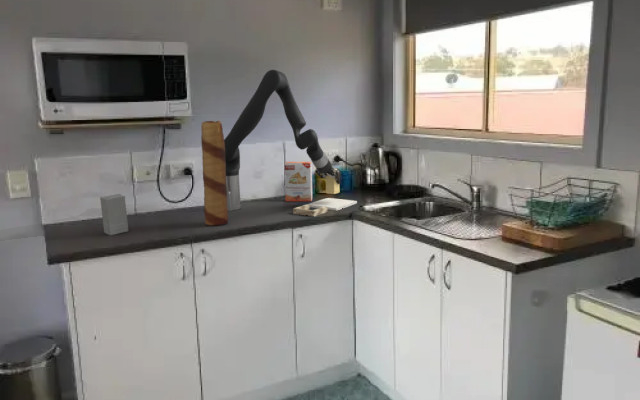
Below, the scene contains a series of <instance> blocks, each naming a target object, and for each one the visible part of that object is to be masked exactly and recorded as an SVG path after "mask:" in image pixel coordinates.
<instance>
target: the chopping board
mask: <svg viewBox="0 0 640 400" xmlns="http://www.w3.org/2000/svg"><path fill="white" fill-rule="evenodd" d="M308 204H309V207H310V209H311V208H312V209H318V208H321V207H324V206H325V207H327V211H339V210H343V209H345V208H349V207H350V206H353V205H357V204H358V201H357V200H353V199H344V198H343V199H340V198H333V197H327V198H322V199H319V200H316V201H313V202H309V203H308ZM342 208H343V209H342Z"/></svg>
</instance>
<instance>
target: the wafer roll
mask: <svg viewBox="0 0 640 400" xmlns="http://www.w3.org/2000/svg"><path fill="white" fill-rule="evenodd" d="M200 131H201V143H200V144H201V153H202V155H201V156H202V180H203V188H204V189H203V190H204V191H203V196H204V197H203V200H204V201H203V203H204V204H203V209H204V210H203V212H204V222H205V223H204V224H205V225H207V226H220V225H221V226H222V225H226V224H228V223H229V211H228V209H227V187H226V162H225V142H224V139H225V136H224V132H223V124H222V122H221V121H220V120H216V121H214V120H205V121H202V123H201V130H200Z"/></svg>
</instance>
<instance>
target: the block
mask: <svg viewBox="0 0 640 400" xmlns="http://www.w3.org/2000/svg"><path fill="white" fill-rule="evenodd" d="M334 169H335V170H337V169H338V168H334ZM333 174H334V172H333ZM333 174H332V175H333ZM335 177H336V176H335ZM340 190H341V189H340V183H339V184H337V182H336V181H335V179H334V178H331V177H330V176H329V175H328V176H326V180H325V194H329V195H330V194H331V195H336V194H339V193H340Z"/></svg>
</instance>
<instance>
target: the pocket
mask: <svg viewBox="0 0 640 400" xmlns="http://www.w3.org/2000/svg"><path fill="white" fill-rule="evenodd" d="M309 204H310V203H307V204H303V205H300V206H297V207H294V208H293V209H292V214H293V215H299V214H300V216H306V215H308V217H313V216H314V217H317V216H320V215H323V214H325V213H328V210H327V207H325V206H324V207H321V208H314V209H311V207H309Z"/></svg>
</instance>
